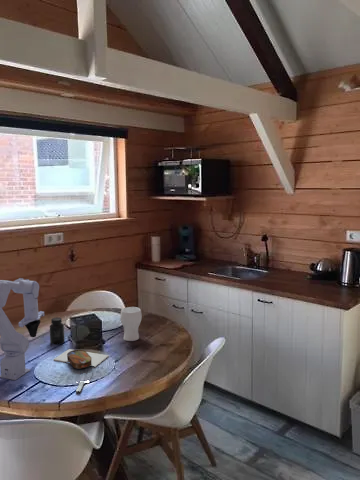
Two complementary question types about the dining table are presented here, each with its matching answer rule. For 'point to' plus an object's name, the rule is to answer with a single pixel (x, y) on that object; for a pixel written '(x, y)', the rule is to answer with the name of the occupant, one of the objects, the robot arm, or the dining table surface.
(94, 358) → the board
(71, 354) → the tin
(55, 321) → the supplement bottle
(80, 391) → the y-shaped peeler
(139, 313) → the cup
